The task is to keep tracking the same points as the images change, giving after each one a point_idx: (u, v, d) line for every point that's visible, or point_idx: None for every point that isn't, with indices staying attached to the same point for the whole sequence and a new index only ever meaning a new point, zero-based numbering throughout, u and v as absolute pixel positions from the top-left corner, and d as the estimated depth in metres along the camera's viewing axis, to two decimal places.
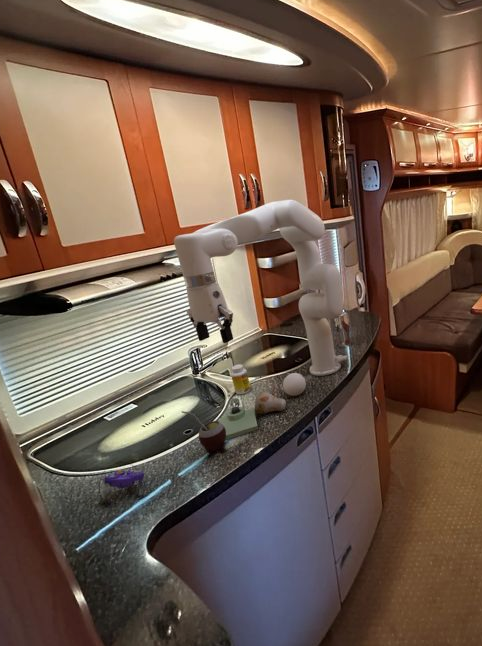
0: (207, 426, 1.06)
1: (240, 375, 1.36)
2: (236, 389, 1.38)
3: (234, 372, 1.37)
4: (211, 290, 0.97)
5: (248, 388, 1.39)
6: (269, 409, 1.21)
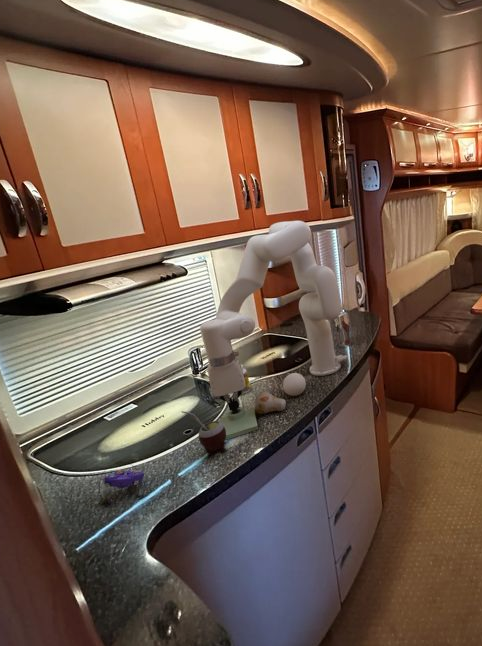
0: (207, 426, 1.06)
1: None
2: None
3: None
4: (238, 363, 1.17)
5: (248, 388, 1.39)
6: (269, 409, 1.21)
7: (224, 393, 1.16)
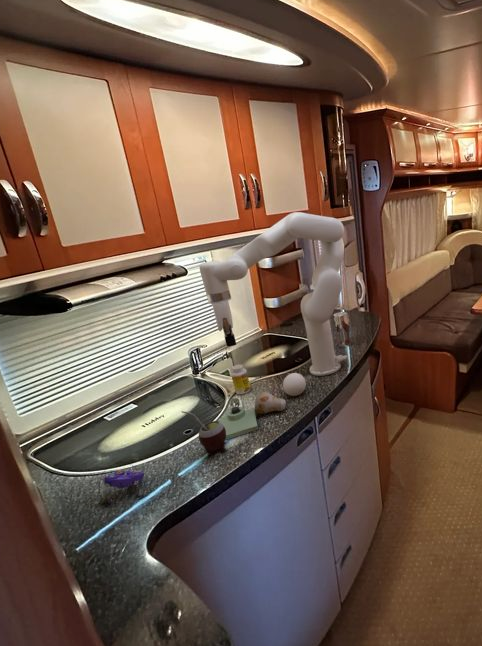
0: (207, 426, 1.06)
1: (240, 375, 1.36)
2: (236, 389, 1.38)
3: (234, 372, 1.37)
4: None
5: (248, 388, 1.39)
6: (269, 409, 1.21)
7: None
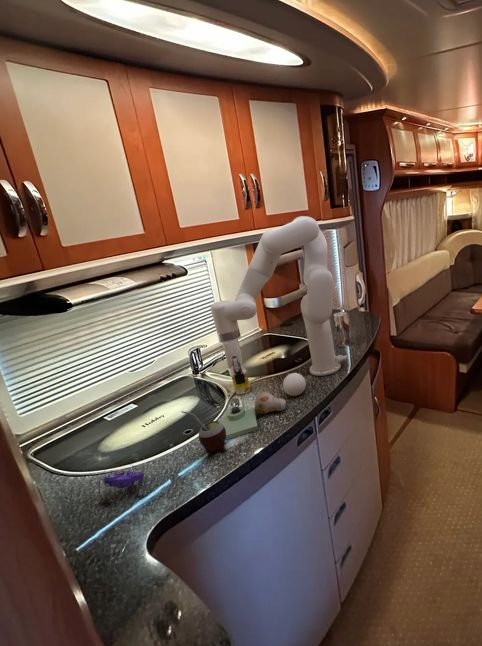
0: (207, 426, 1.06)
1: None
2: (236, 389, 1.38)
3: None
4: None
5: (248, 388, 1.39)
6: (269, 409, 1.21)
7: None
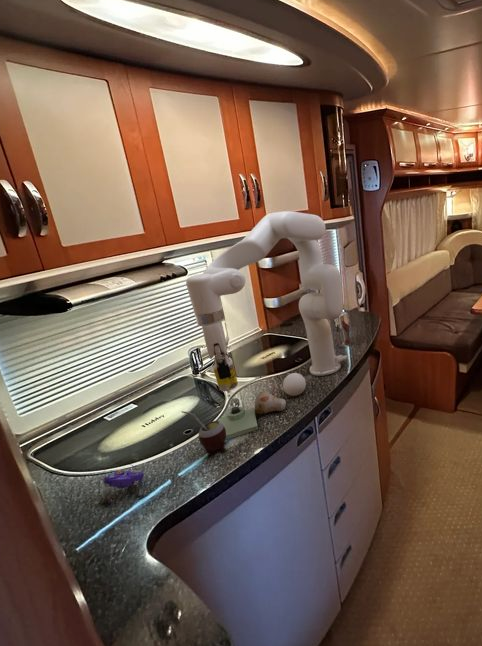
0: (207, 426, 1.06)
1: None
2: (219, 385, 1.11)
3: None
4: None
5: (234, 384, 1.12)
6: (269, 409, 1.21)
7: None
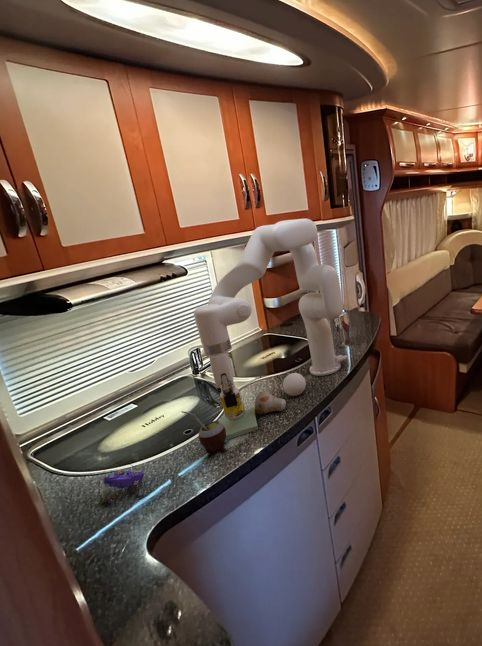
0: (207, 426, 1.06)
1: None
2: (226, 413, 1.12)
3: None
4: None
5: (241, 411, 1.14)
6: (269, 409, 1.21)
7: None
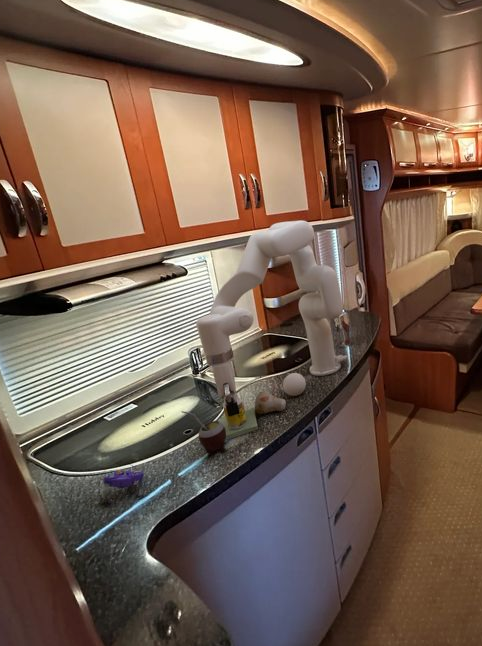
0: (207, 426, 1.06)
1: None
2: (229, 423, 1.13)
3: None
4: None
5: (244, 421, 1.15)
6: (269, 409, 1.21)
7: None
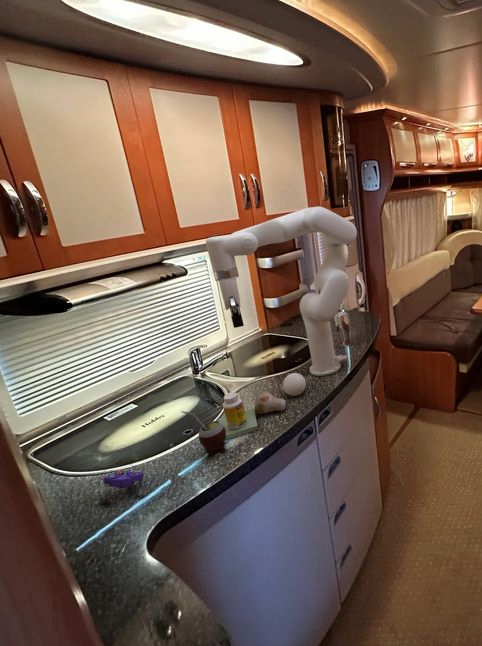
0: (207, 426, 1.06)
1: (233, 406, 1.12)
2: (229, 423, 1.13)
3: (226, 403, 1.12)
4: None
5: (244, 421, 1.15)
6: (269, 409, 1.21)
7: None
